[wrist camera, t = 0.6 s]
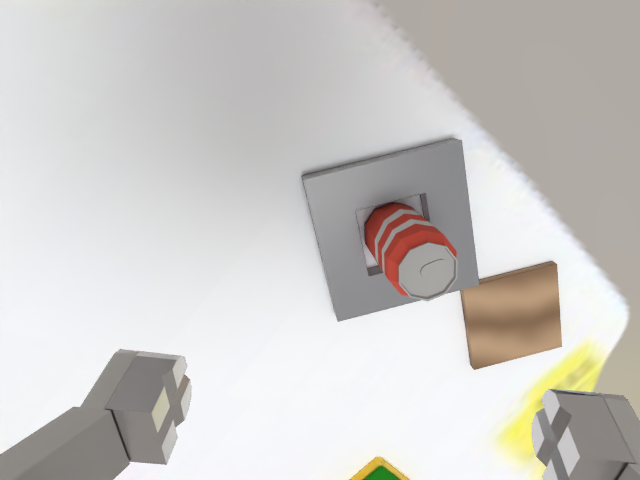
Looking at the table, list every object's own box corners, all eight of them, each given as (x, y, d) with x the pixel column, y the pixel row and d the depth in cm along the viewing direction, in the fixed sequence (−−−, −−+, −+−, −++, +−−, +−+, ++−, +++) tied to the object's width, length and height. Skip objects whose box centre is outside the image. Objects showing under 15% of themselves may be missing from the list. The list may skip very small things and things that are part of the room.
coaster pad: (459, 285, 53) (463, 288, 52) (551, 261, 53) (556, 264, 52) (470, 365, 57) (474, 369, 56) (556, 342, 57) (561, 346, 56)
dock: (301, 176, 47) (303, 180, 45) (453, 138, 47) (461, 140, 46) (335, 313, 52) (337, 321, 50) (471, 277, 53) (479, 284, 51)
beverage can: (427, 243, 51) (473, 288, 40) (373, 265, 51) (404, 316, 40) (410, 192, 49) (454, 225, 38) (354, 216, 49) (380, 255, 38)
